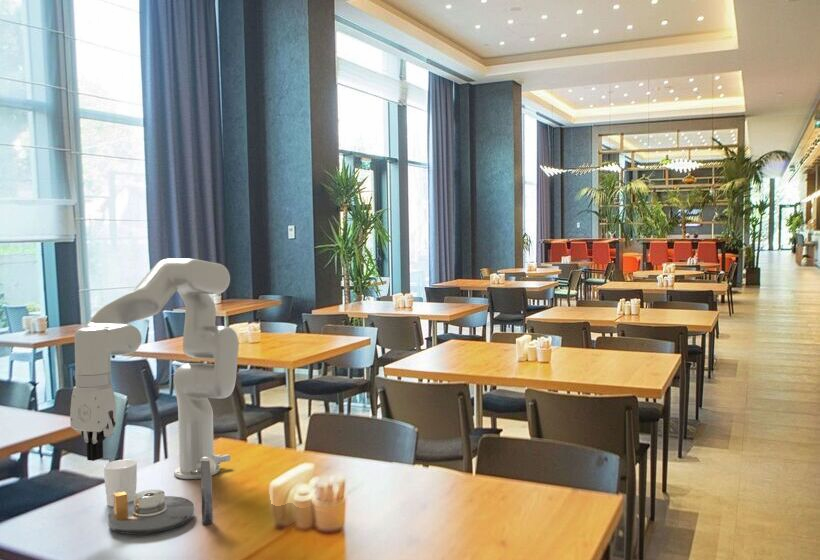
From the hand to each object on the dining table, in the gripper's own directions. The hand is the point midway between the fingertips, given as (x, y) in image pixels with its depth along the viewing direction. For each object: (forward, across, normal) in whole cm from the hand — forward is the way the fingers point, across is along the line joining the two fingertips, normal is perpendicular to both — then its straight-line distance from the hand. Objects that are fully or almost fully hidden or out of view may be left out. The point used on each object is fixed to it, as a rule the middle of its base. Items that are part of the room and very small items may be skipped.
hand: (95, 458), depth 166 cm
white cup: (+16, -6, +14) cm, 22 cm away
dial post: (+16, +23, +11) cm, 30 cm away
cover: (+13, +10, +6) cm, 18 cm away
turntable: (+16, +10, +7) cm, 20 cm away
